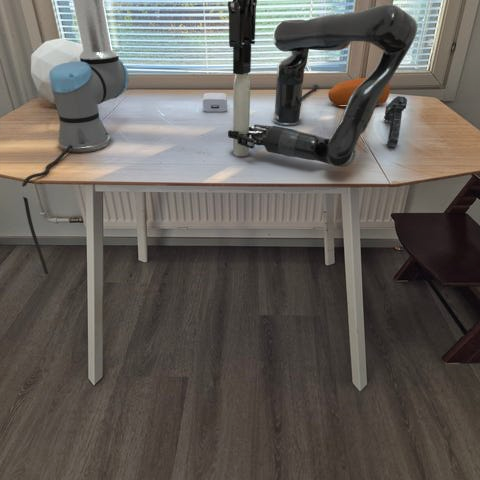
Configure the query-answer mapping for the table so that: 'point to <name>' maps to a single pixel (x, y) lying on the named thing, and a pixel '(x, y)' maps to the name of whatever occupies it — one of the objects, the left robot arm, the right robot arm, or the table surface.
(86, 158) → the table surface
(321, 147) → the right robot arm
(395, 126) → the futuristic handgun
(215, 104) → the charger
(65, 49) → the decorative sphere
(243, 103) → the bottle
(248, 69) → the cap
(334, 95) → the clog
